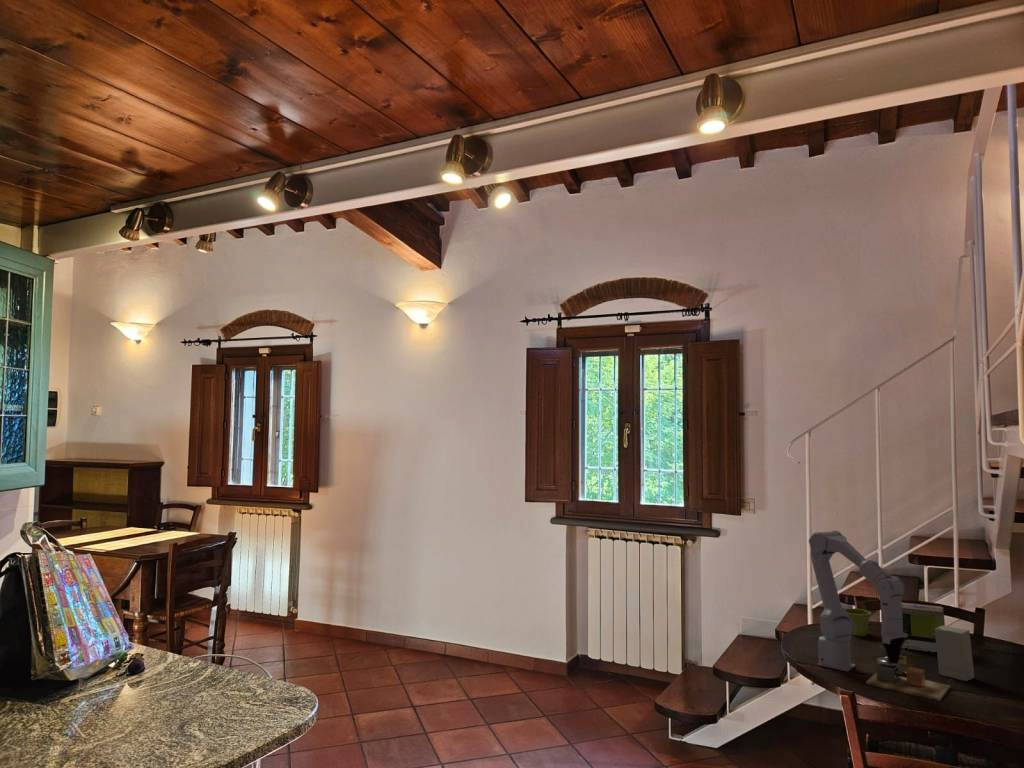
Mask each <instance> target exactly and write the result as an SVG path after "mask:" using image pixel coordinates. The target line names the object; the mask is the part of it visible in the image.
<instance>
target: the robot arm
mask: <svg viewBox="0 0 1024 768" xmlns="http://www.w3.org/2000/svg"><path fill="white" fill-rule="evenodd" d="M808 543H809V547H810V560H811V564H812V568H813V571H814V575H815V576H814V577H815V578H816V583H817V585H818V586H817V587H818V590H819V593H820V598H821V602H822V606H823V611H822V613H821V614H820V615H819V619H820V627H819V628H820V632H821V634H822V635H821V636H819V638H818V642H817V652H818V656H817V657H818V663H817V665H818V666H820V667H825V668H829V669H830V668H831V669H834V670H835V669H836V670H839V671H843V672H850V671H851V670H852V669H853V668H855V667H856V664H855V663H852V657H851V655H852V654H851V640H852V636H854V635H853V634H854V632H855V627H854V624H853V622H852V621H851V619H850V617H849V613H848V612H846V611H845V610H844V609H845V608H842V604H841V600H840V596H839V593H838V589H837V585H836V581H835V578H834V573H833V569H832V566H831V562H830V560H831V558H832V557H833V555H834V554H836V553H839V554H840V555H841V556H843V557H845V558H846V559H848V561H850V562H851V563H852V564H854V566H857V568H858V571H859V574H860V575H862V576H863V577H864V579H866V580H867V581H868V582H870V583H871V584H872V585H873V586H874V587H875V591H876V593H877V595H878V598H879V602H880V614H881V616H880V618H881V629H880V634H881V638H880V641H881V643H882V645H883V646H884V647H883V648H884V649H885V651H886V656H888V659H889V662H890V663H894V664H897V663H898V661H899V656H900V655H901V651H902V649H903V648H902V645H903V643H904V641H905V640H904V639H902V638H900V637H907V636H908V634H905V633H903V620H902V603H903V601H902V596H903V595H904V594H905V592H906V585H905V583H904V581H903V580H902V579H901V578H900V576H895V575H894V576H893V575H892V574H891V573H890V572H888V571H886V570H885V569H884V568H883V567H882V566H880V565H879V562H877V560H873V559H866V558H865V557H864V556H863V555H862V554H861V553H860V552H859V551H858V550H857V549H856V548H855V547H854V546H853V545H851V543H849V541H848V540H847V537H846V536H845V535H844V534H842V533H841V532H840V531H837V530H832V531H830V530H829V531H821V532H819V531H816V532H813V533H812V535H811V536H810V537H809V539H808Z"/></svg>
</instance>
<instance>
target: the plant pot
mask: <svg viewBox="0 0 1024 768" xmlns="http://www.w3.org/2000/svg"><path fill="white" fill-rule="evenodd" d="M843 609H844V610H845V611H846V612H848V613H849V617H850V619H851V621H852V622H853V624H854V627H855V632H854V634H853V635H852V636H857V637H866V636H867V635H868V628H869V619H870V616H871V615H872V613H871V611H869V610H865V609H862V608H861V609H860V608H843Z"/></svg>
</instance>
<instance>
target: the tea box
mask: <svg viewBox="0 0 1024 768" xmlns="http://www.w3.org/2000/svg"><path fill="white" fill-rule="evenodd" d="M944 612H945V611H944V606H941V605H940V606H939V605H930V604H929V605H928V604H920V603H919V604H918V603H909V602H902V620H903V633H905V634H908V636H907V637H900V638H902V639H904V640H905V641H904V643H903V645H902V648H901V649H905V648H907V649H906V650H913V649H914V651H920V650H921V652H928V651H930V653H935V652H937V646H936V636H935V628H937V627H940V626H946V624H945V622H946V621H945V613H944Z"/></svg>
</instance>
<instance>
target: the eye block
mask: <svg viewBox="0 0 1024 768" xmlns="http://www.w3.org/2000/svg"><path fill="white" fill-rule="evenodd" d="M875 669H876V670H875V671H876V672H875V673H877V680H879V681H884V682H888V683H892V684H895V683H896V682H897V681H898V680H900V679H901V676H896V669H897V670H902V669H901V664H900V663H899V666H885V665H882V664H879V663H878V662H877V664H875Z"/></svg>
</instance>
